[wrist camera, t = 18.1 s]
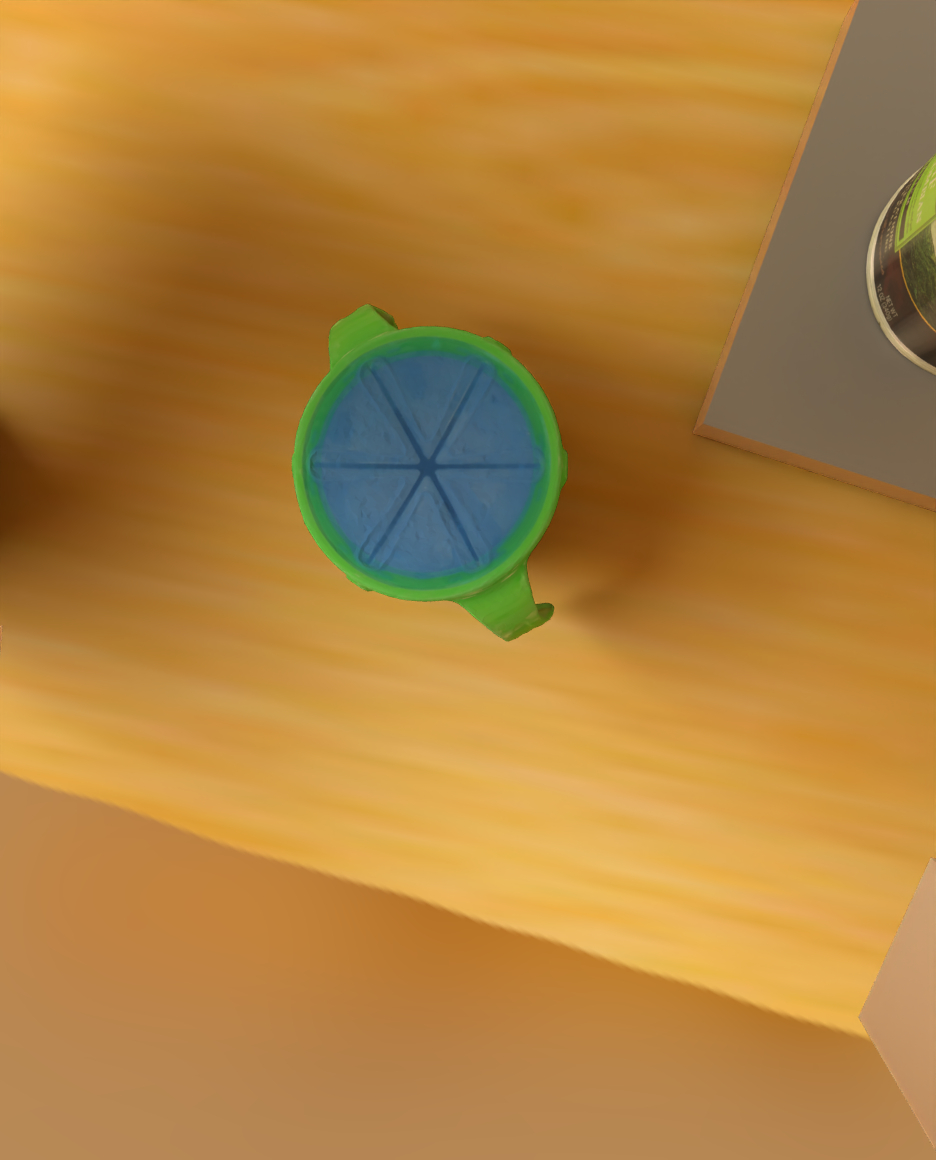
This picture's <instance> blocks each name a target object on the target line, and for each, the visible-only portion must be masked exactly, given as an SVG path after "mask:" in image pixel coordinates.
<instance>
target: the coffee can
mask: <svg viewBox="0 0 936 1160" xmlns="http://www.w3.org/2000/svg"><path fill="white" fill-rule="evenodd" d="M866 281H867V290H868V297H869V300H870V304H871V308H872V311H873V313H874V316H875V318H876V320H877V322H878V324H879V326H880V327H881V329H882V331H883V333H884V334H885V335H886V337H887V338H888V339H889V341H890V342H891V343H892V344H893V345H894V347H895V348H896V349H897V350H898V351H899V352H900V353H901V354H902V355H904V356H905V357H906V358H907V359H909V360H910V361H911V362H912V363H914V364H915V365H917V366H919V367H920V368H922V369H924V370H926V371H928V372H929V373H931V374H933V375H936V153H935V155H934V156H933V157H932V158H931V159H930V160H929V161H928V162H927V163H926V164H925V165H924V166H922V167H921V168H920V169H919V170H917V171H916V172H915V173H914V174H913V175H912V176H911V177H909V178H908V179H907V180H906V181H905V182H904V183H903V184H902V185H901V186H900V188H899V189H898V190H897V191H896V193H895V194H894V195H893V197H892V198H891V199H890V201H889V202H888V204H887V205H886V207H885V208H884V210H883V211H882V213H881V214H880V216H879V219H878V221H877V223H876V226H875V228H874V231H873V234H872V237H871V241H870V244H869V249H868V253H867V264H866Z"/></svg>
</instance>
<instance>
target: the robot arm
mask: <svg viewBox="0 0 936 1160" xmlns="http://www.w3.org/2000/svg"><path fill="white" fill-rule="evenodd" d="M2 630H3V626H1V625H0V650H1V640H2ZM859 1019H860V1021H861V1023H862V1024H863V1026H864V1028H865V1030H866V1031H867V1033H868V1035H869V1037H870V1038H871V1040H872V1042H873V1043H874V1045H875V1047H876V1049H877V1050H878V1052H879V1054H880V1056H881V1057H882V1059H883V1061H884V1062H885V1064H886V1066H887V1068H888V1069H889V1071H890V1073H891V1074H892V1076H893V1078H894V1080H895V1081H896V1083H897V1085H898V1087H899V1088H900V1090H901V1092H902V1094H903V1095H904V1097H905V1099H906V1101H907V1102H908V1104H909V1106H910V1107H911V1109H912V1111H913V1113H914V1114H915V1116H916V1118H917V1119H918V1121H919V1123H920V1125H921V1126H922V1128H923V1130H924V1132H925V1133H926V1135H927V1137H928V1138H929V1140H930V1142H931V1144H932V1146H933V1147H934V1149H935V1151H936V858H932V857H931V858H930V860H929V862H928V865H927V867H926V869H925V871H924V873H923V876H922V878H921V880H920V882H919V885H918V887H917V889H916V891H915V893H914V896H913V898H912V900H911V902H910V904H909V907H908V909H907V911H906V913H905V915H904V918H903V920H902V922H901V924H900V926H899V929H898V931H897V933H896V935H895V937H894V940H893V942H892V944H891V946H890V948H889V951H888V953H887V955H886V957H885V959H884V962H883V964H882V966H881V968H880V970H879V973H878V975H877V977H876V979H875V981H874V984H873V986H872V988H871V990H870V992H869V995H868V997H867V999H866V1001H865V1003H864V1006H863V1008H862V1010H861V1012H860V1015H859Z"/></svg>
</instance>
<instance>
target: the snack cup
mask: <svg viewBox="0 0 936 1160" xmlns="http://www.w3.org/2000/svg"><path fill="white" fill-rule="evenodd" d="M329 335H330V336H329V348H328V349H329V356H330V371H329V373H328V374H327V375H326V376H325V377H324V378H323V380H322V381H321V382H320V384H319V385H318V386H317V388H316V390H315V391H314V393H313V394H312V396H311V398H310V400H309V402H308V404H307V406H306V407H305V410H304V412H303V415H302V418H301V419H300V423H299V426H298V430H297V433H296V439H295V448H294V454H293V456H292V472H293V478H294V485H295V490H296V496H297V500H298V504H299V507H300V511H301V514H302V516H303V519H304V523H305V525H306V526H307V528H308V530H309V532H310V533H311V535H312V537H313V538H314V540H315V541H316V543H317V544H318V546H319V547H320V549H321V550H322V551H323V552H324V553H325V555H326V556H327V557H328V558H329V559H330V560H331V561H332V562H333V563H334V564H335V565H336V566H337V567H338V568H339V569H340V570H341V571H343V572H344V573H345V574H346V575H347V579H349V580H350V581H351V582H353V583H354V584H356V585H357V586H359V587H360V588H361V589H363V590H366V591H376V592H378V593H381V594H384V595H387V596H390V597H394V598H398V599H403V600H411V601H424V602H427V601H442V600H448V601H453V602H455V603H458V604H459V605H461V606H462V607H463V608H465V609H466V610H467V611H468V612H469V613H470V614H471V615H472V616H473V617H475V618H476V619H477V620H478V621H479V622H481V623H482V624H483V625H484V626H486V627H487V628H488V629H489V630H491V631H492V632H493V633H494V634H496V635H497V636H499V637H500V638H502V639H503V640H505V641H511V640H514V639H516V638H518V637H519V636H521V635H522V634H524V633H527V632H529V631H530V630H532V629H533V628H536V627H539V626H541V625H542V624H544V623H545V622H547V621H548V620H549V619H550V618H551V617H552V615H553V612H554V606H553V605H552V604H550V603H542V604H535V602H534V599H533V596H532V590H531V587H530V583H529V579H528V573H527V561H528V557H529V556H530V554H531V552H532V551H533V550H534V548H535V547H536V546H537V544H538V543H539V541H540V540H541V538H542V537H543V535H544V533H545V531H546V530H547V528H548V526H549V524H550V522H551V520H552V517H553V515H554V512H555V510H556V507H557V504H558V500H559V496H560V492H561V489H562V487H563V486H564V484H565V483H566V481H567V475H568V454H567V451H566V450H565V449H563V446H562V440H561V435H560V431H559V427H558V423H557V420H556V416H555V413H554V411H553V409H552V407H551V405H550V402H549V400H548V398H547V396H546V395H545V393H544V391H543V389H542V388H541V386H540V385H539V384H538V382H537V381H536V380H535V378H534V377H533V376H532V374H531V373H530V372H529V371H528V370H527V369H526V368H525V367H524V366H523V365H522V364H521V363H520V362H519V361H518V360H517V359H516V358H514V357H513V356H512V354H511V351H510V350H509V349H508V348H507V347H506V346H504V345H503V344H502V343H500V342H498V341H496V340H494V339H493V338H491V337H483V338H482V337H480V336H478V335H476V334H473V333H470V332H467V331H464V330H459V329H454V328H449V327H438V326H420V327H412V328H405V329H401V330H398V327H397V325H396V324H395V322H394V318H393V316H391V315H389V314H388V313H386V312H385V311H383V310H381V309H379V308H377V307H374V306H372V305H370V304H366V305H363V306H362V307H360V308H358V309H357V310H356V311H355V312H353V313H352V314H350V315H349V316H347V317H346V318H343V319H340V320H339V321H338V322H337V323H336V324H335V325H333V326H332V328H331V329H330V332H329Z"/></svg>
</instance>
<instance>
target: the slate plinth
mask: <svg viewBox="0 0 936 1160" xmlns="http://www.w3.org/2000/svg"><path fill="white" fill-rule="evenodd" d="M935 153H936V0H855V1H854V2H853V4H852V6H851V8H850V10H849V12H848V14H847V16H846V17H845V19H844V21H843V24H842V27H841V30H840V32H839V35H838V38H837V41H836V43H835V46H834V49H833V51H832V54H831V57H830V60H829V62H828V65H827V68H826V70H825V73H824V76H823V79H822V81H821V84H820V87H819V89H818V92H817V95H816V98H815V100H814V103H813V106H812V108H811V111H810V114H809V117H808V119H807V122H806V125H805V127H804V130H803V133H802V136H801V138H800V141H799V144H798V147H797V149H796V152H795V155H794V157H793V160H792V163H791V166H790V168H789V171H788V174H787V176H786V179H785V182H784V185H783V187H782V190H781V193H780V195H779V198H778V201H777V204H776V206H775V209H774V212H773V214H772V217H771V220H770V223H769V225H768V228H767V231H766V233H765V236H764V239H763V242H762V244H761V247H760V250H759V252H758V255H757V258H756V261H755V263H754V266H753V269H752V272H751V274H750V277H749V280H748V282H747V285H746V288H745V291H744V293H743V296H742V299H741V301H740V304H739V307H738V310H737V312H736V315H735V318H734V320H733V323H732V326H731V329H730V331H729V334H728V337H727V339H726V342H725V345H724V348H723V350H722V353H721V356H720V358H719V361H718V364H717V367H716V369H715V372H714V375H713V378H712V380H711V383H710V386H709V388H708V391H707V394H706V397H705V399H704V402H703V405H702V407H701V410H700V413H699V416H698V418H697V421H696V424H695V426H694V429H693V432H692V433H694V434H697V435H700V436H703V437H706V438H709V439H712V440H715V441H718V442H721V443H724V444H728V445H731V446H734V447H737V448H740V449H743V450H746V451H749V452H752V453H755V454H758V455H761V456H765V457H768V458H771V459H774V460H777V461H780V462H783V463H786V464H789V465H792V466H795V467H799V468H802V469H805V470H808V471H811V472H814V473H817V474H820V475H823V476H826V477H829V478H832V479H836V480H839V481H842V482H845V483H848V484H851V485H854V486H857V487H860V488H863V489H866V490H870V491H873V492H876V493H879V494H882V495H885V496H888V497H891V498H894V499H897V500H900V501H904V502H907V503H910V504H913V505H916V506H919V507H922V508H925V509H928V510H931V511H934V512H936V375H933V374H931V373H929V372H928V371H926V370H924V369H922V368H920V367H919V366H917V365H915V364H914V363H912V362H911V361H910V360H909V359H907V358H906V357H905V356H904V355H902V354H901V353H900V352H899V351H898V350H897V349H896V348H895V347H894V345H893V344H892V343H891V342H890V341H889V339H888V338H887V337H886V335H885V334H884V333H883V331H882V329H881V327H880V326H879V324H878V322H877V320H876V318H875V316H874V313H873V311H872V308H871V304H870V300H869V297H868V290H867V281H866V264H867V253H868V249H869V244H870V241H871V237H872V234H873V231H874V228H875V226H876V223H877V221H878V219H879V216H880V214H881V213H882V211H883V210H884V208H885V207H886V205H887V204H888V202H889V201H890V199H891V198H892V197H893V195H894V194H895V193H896V191H897V190H898V189H899V188H900V186H901V185H902V184H903V183H904V182H905V181H906V180H907V179H908V178H909V177H911V176H912V175H913V174H914V173H915V172H916V171H917V170H919V169H920V168H921V167H922V166H924V165H925V164H926V163H927V162H928V161H929V160H930V159H931V158H932V157H933V156H934V155H935Z"/></svg>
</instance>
